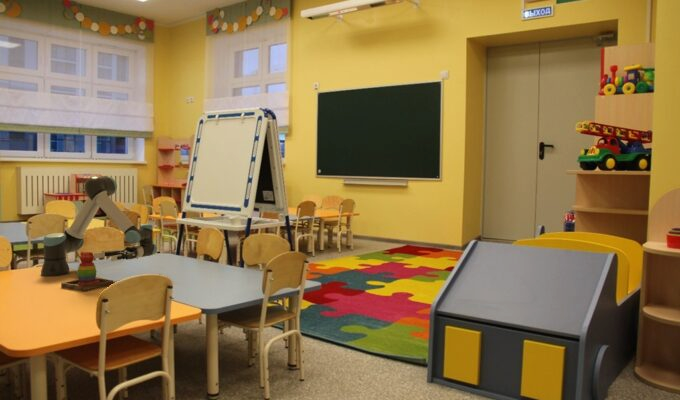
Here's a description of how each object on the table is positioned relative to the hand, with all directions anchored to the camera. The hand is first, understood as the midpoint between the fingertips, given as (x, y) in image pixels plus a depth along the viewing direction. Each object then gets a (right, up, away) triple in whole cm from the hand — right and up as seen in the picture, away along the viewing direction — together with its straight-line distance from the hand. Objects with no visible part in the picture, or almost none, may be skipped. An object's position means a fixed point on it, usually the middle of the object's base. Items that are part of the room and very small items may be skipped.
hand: (103, 257), depth 305 cm
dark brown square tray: (-4, -15, -9) cm, 18 cm away
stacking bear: (-4, -14, -9) cm, 17 cm away
